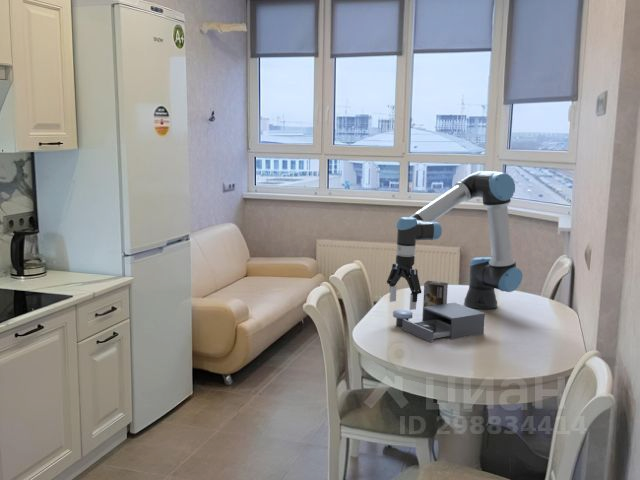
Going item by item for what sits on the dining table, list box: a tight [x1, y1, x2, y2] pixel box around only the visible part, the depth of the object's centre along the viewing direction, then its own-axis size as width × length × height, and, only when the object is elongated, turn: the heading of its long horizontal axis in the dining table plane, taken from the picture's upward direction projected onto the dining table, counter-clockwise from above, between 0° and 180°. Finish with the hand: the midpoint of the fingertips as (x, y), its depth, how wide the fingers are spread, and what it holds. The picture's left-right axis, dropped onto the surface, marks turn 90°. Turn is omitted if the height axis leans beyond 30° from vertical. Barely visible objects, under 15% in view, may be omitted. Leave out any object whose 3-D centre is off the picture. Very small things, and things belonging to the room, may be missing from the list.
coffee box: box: [422, 280, 449, 308], centre depth 265 cm, size 9×6×16 cm
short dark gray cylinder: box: [395, 318, 410, 328], centre depth 255 cm, size 5×5×4 cm
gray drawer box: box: [421, 302, 486, 340], centre depth 250 cm, size 17×18×8 cm
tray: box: [401, 319, 451, 343], centre depth 245 cm, size 17×18×4 cm
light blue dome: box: [392, 309, 413, 320], centre depth 254 cm, size 8×8×2 cm
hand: (402, 305), depth 253 cm, fingers open, 13 cm apart
